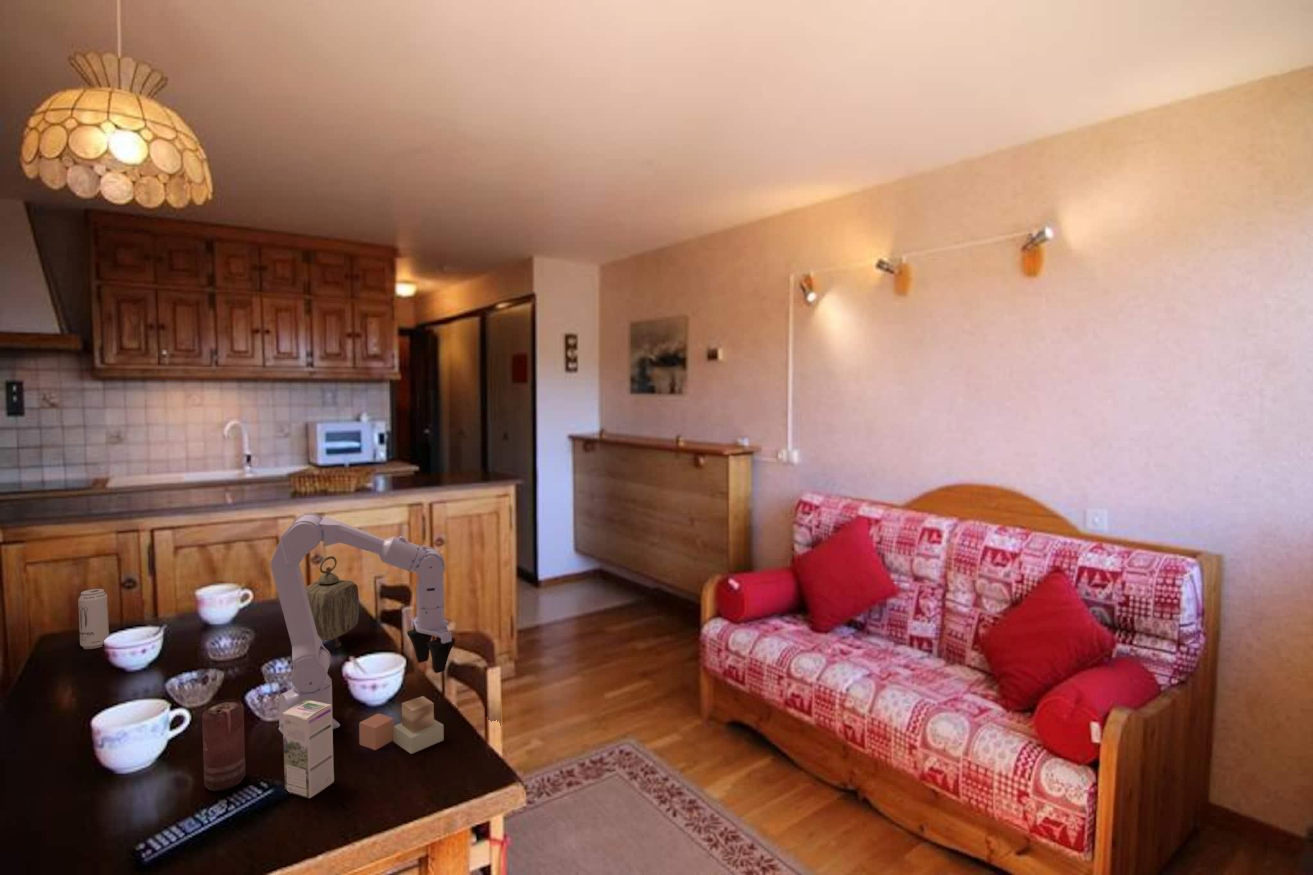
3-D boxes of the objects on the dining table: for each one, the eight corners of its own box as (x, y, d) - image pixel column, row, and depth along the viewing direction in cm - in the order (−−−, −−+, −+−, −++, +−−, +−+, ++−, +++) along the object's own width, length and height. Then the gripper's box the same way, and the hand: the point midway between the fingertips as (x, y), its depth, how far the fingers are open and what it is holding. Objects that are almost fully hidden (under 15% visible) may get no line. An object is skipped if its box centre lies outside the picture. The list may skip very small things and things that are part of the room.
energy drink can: (74, 648, 179) (72, 593, 178) (99, 640, 185) (96, 587, 184) (90, 651, 177) (88, 595, 176) (114, 643, 183) (112, 589, 182)
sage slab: (411, 755, 129) (411, 738, 129) (393, 742, 133) (392, 725, 133) (443, 741, 134) (443, 724, 134) (425, 729, 139) (425, 713, 139)
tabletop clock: (332, 637, 190) (330, 550, 188) (361, 639, 189) (360, 551, 187) (298, 656, 176) (296, 562, 174) (329, 658, 174) (328, 564, 173)
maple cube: (412, 732, 131) (412, 710, 130) (401, 724, 134) (401, 703, 133) (433, 724, 134) (433, 703, 134) (423, 717, 137) (423, 695, 137)
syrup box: (335, 781, 119) (334, 702, 118) (308, 800, 114) (306, 717, 113) (310, 775, 121) (309, 697, 120) (282, 793, 116) (281, 712, 115)
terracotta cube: (375, 750, 130) (375, 728, 130) (359, 744, 132) (359, 722, 132) (394, 740, 134) (393, 718, 134) (378, 734, 136) (378, 713, 136)
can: (215, 796, 114) (213, 717, 114) (197, 784, 118) (195, 707, 117) (252, 779, 120) (250, 703, 119) (234, 768, 123) (232, 694, 122)
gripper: (464, 608, 143) (464, 670, 144) (431, 594, 153) (432, 652, 154) (433, 616, 138) (434, 680, 139) (401, 600, 148) (402, 660, 149)
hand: (431, 666), depth 146 cm, fingers open, 7 cm apart
